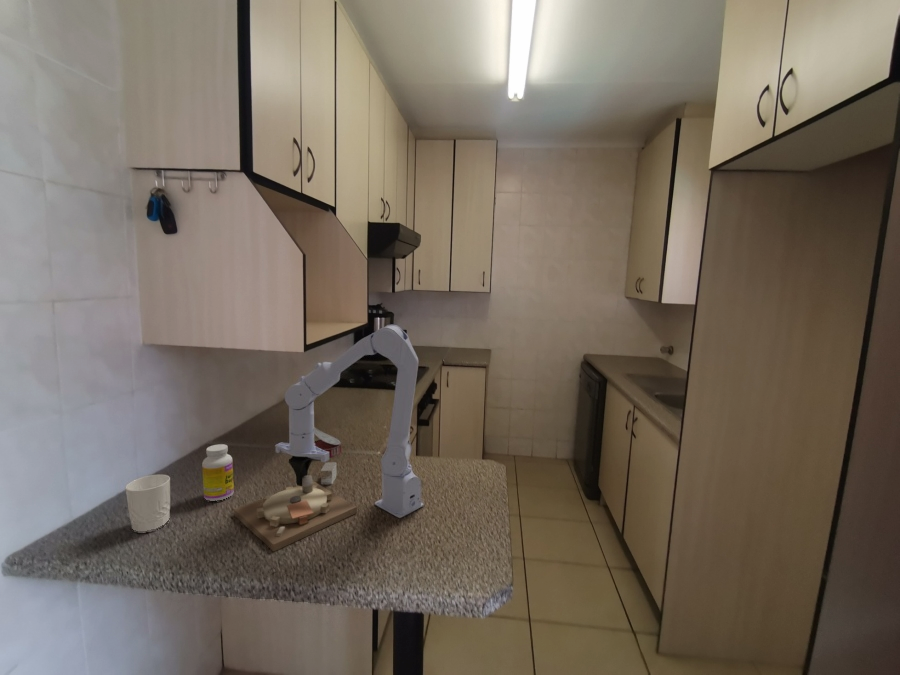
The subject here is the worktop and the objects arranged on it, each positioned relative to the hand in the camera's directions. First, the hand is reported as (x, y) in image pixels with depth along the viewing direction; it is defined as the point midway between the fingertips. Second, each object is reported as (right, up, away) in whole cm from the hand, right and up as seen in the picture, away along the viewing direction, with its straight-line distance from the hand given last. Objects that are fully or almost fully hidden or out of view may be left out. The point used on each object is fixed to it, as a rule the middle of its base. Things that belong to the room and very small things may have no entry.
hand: (302, 484), depth 102 cm
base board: (0, -5, -5) cm, 7 cm away
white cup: (-30, -6, -10) cm, 32 cm away
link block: (+3, -4, +13) cm, 14 cm away
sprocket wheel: (0, -4, -5) cm, 6 cm away
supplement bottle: (-22, -4, +3) cm, 23 cm away
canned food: (-4, -2, +32) cm, 32 cm away
